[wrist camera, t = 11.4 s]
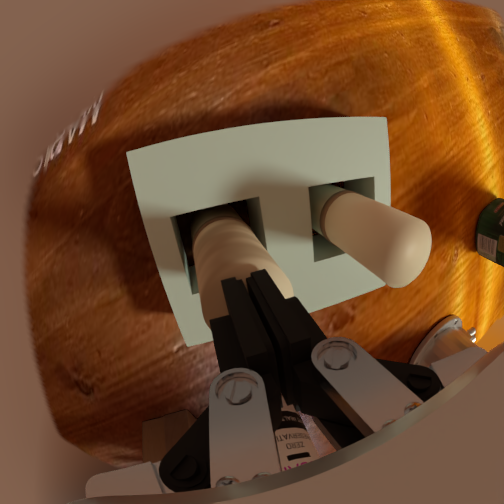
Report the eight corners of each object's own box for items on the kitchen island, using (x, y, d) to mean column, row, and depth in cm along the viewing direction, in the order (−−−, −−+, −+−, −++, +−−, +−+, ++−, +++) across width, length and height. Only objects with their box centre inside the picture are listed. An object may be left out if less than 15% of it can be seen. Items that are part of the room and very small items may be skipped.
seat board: (353, 118, 18) (457, 120, 9) (359, 264, 24) (433, 325, 15) (138, 150, 16) (89, 159, 7) (184, 314, 21) (195, 417, 12)
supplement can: (234, 432, 30) (265, 528, 17) (219, 401, 27) (253, 523, 13) (292, 415, 32) (336, 505, 18) (289, 381, 28) (345, 493, 15)
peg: (236, 196, 19) (291, 250, 10) (245, 244, 20) (297, 327, 11) (184, 208, 18) (189, 276, 9) (196, 256, 20) (213, 351, 11)
